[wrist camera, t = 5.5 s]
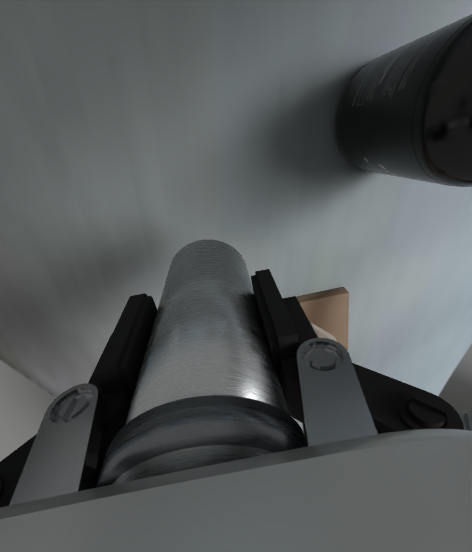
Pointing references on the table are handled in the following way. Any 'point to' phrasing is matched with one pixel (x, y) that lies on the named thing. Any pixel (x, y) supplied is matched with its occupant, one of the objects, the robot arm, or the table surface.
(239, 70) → the table surface
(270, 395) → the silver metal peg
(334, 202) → the table surface
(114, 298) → the table surface
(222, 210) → the table surface
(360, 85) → the supplement bottle
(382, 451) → the robot arm
